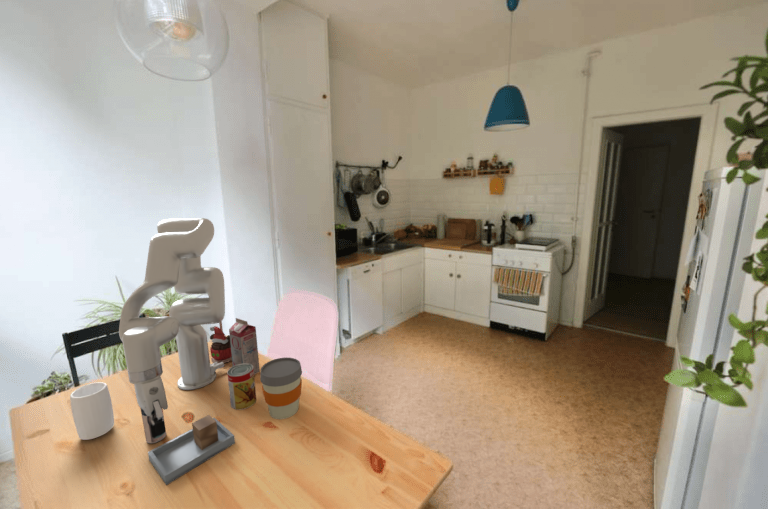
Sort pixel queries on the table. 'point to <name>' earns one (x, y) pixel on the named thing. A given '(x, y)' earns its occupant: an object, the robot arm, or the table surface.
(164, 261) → the robot arm
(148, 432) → the beer can
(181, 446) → the tray
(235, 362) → the juice carton
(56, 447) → the table surface
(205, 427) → the block
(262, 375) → the reusable coffee cup
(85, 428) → the cup
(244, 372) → the canned food
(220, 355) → the christmas cupcake figurine
